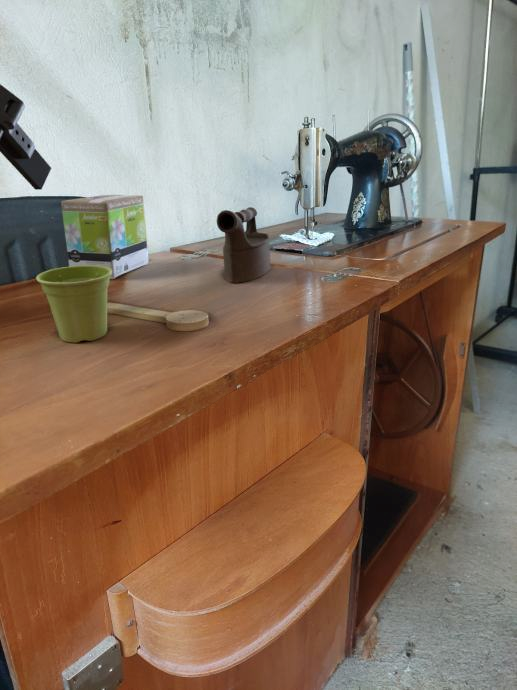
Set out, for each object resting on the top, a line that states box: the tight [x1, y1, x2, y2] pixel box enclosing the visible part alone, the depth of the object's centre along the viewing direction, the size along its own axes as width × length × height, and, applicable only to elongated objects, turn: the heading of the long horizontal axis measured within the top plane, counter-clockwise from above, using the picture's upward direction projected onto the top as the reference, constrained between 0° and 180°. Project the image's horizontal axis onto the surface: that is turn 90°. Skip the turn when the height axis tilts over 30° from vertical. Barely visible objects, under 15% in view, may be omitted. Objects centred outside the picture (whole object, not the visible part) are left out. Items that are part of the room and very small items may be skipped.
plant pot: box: [35, 265, 112, 344], centre depth 69 cm, size 9×9×9 cm
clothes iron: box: [216, 206, 271, 284], centre depth 97 cm, size 8×16×13 cm, turn 164°
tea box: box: [60, 194, 149, 280], centre depth 104 cm, size 15×10×15 cm
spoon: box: [107, 301, 210, 332], centre depth 77 cm, size 22×6×1 cm, turn 61°
